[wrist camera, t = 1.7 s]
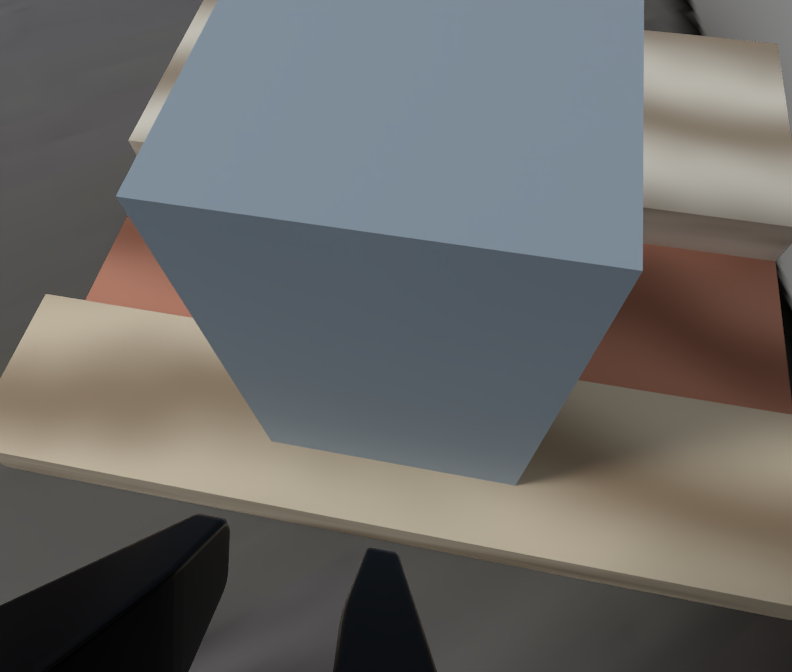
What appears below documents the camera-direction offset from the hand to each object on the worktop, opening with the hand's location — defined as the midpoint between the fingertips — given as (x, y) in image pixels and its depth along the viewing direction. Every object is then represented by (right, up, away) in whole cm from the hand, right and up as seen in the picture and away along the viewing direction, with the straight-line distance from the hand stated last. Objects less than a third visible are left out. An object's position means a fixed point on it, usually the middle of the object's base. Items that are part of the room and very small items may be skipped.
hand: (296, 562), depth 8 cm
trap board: (+3, +7, +19) cm, 20 cm away
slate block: (+2, +2, +14) cm, 14 cm away
